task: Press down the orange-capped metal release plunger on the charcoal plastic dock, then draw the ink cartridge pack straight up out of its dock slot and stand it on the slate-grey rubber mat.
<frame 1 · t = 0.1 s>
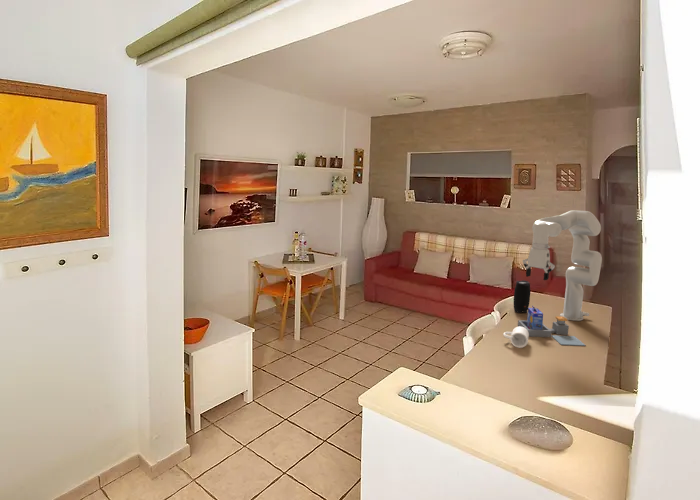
hand: (536, 278, 220), 31 cm above the worktop, tool pointing down, fingers open, 9 cm apart
mat: (567, 340, 216), on the worktop
mug: (514, 343, 212), on the worktop
ink cartridge box: (533, 331, 229), resting in dock
dock: (544, 331, 228), on the worktop
portable speaker: (520, 311, 263), on the worktop
plunger: (560, 322, 227), point 6 cm above the worktop, slide at 0.0 cm
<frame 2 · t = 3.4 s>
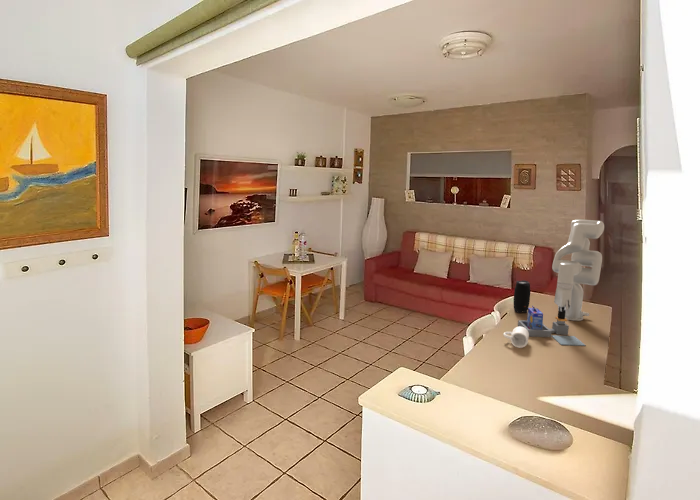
hand: (561, 318, 226), 8 cm above the worktop, tool pointing down, fingers closed
plunger: (560, 323, 227), point 5 cm above the worktop, slide at 0.2 cm, touching gripper
everything else where it was.
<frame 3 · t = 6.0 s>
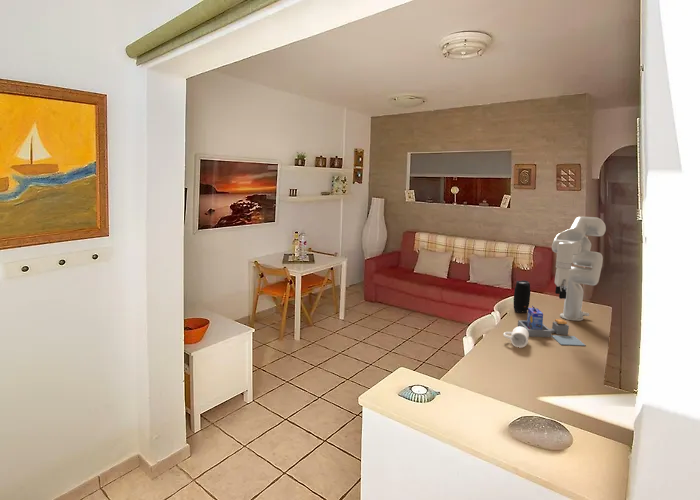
hand: (560, 296, 224), 21 cm above the worktop, tool pointing down, fingers open, 9 cm apart
plunger: (560, 326, 227), point 4 cm above the worktop, slide at 1.8 cm
everything else where it was.
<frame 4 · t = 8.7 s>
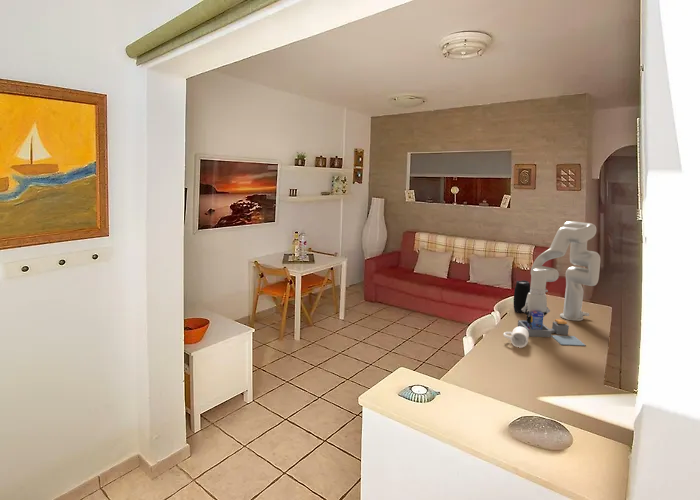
hand: (534, 322, 228), 5 cm above the worktop, tool pointing down, fingers closed on ink cartridge box, 5 cm apart
ink cartridge box: (533, 331, 229), resting in dock, touching gripper
everything else where it was.
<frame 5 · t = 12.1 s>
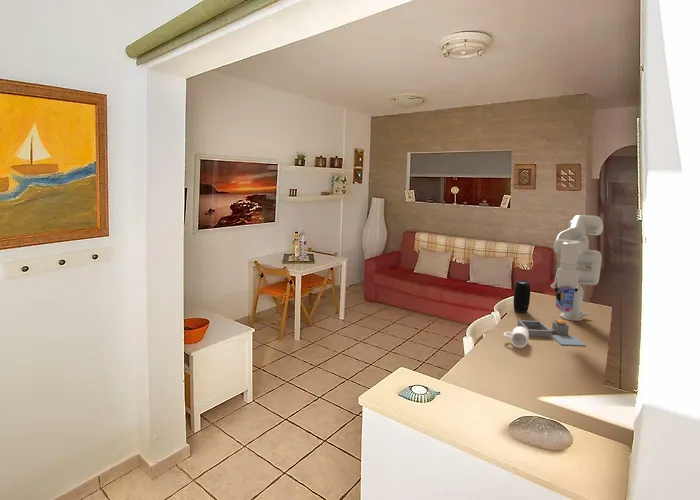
hand: (564, 299, 215), 21 cm above the worktop, tool pointing down, fingers closed on ink cartridge box, 5 cm apart
ink cartridge box: (563, 309, 216), point 16 cm above the worktop, touching gripper
everything else where it was.
when the fingers open (7 cm above the worktop, at t = 15.7 s): ink cartridge box drops 1 cm, resting on mat.
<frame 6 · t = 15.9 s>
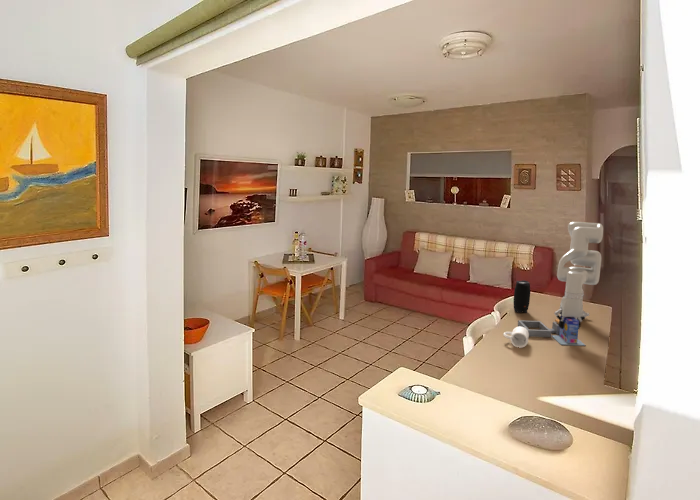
hand: (569, 327, 215), 7 cm above the worktop, tool pointing down, fingers open, 7 cm apart
ink cartridge box: (567, 340, 216), resting on mat
everything else where it was.
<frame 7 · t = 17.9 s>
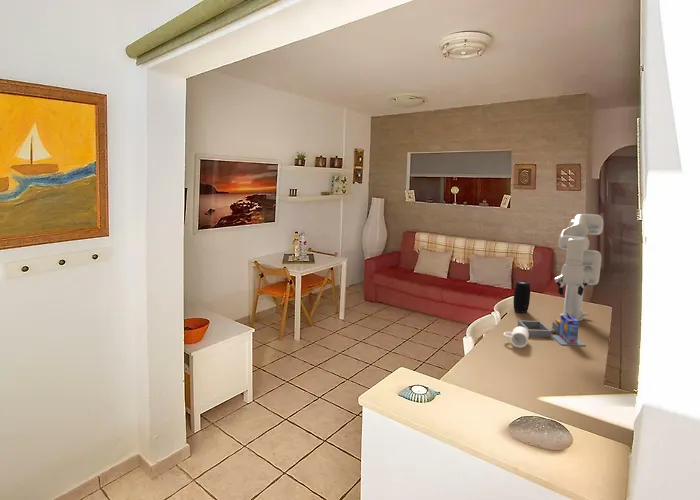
hand: (570, 294, 215), 24 cm above the worktop, tool pointing down, fingers open, 9 cm apart
nothing on the worktop moved.
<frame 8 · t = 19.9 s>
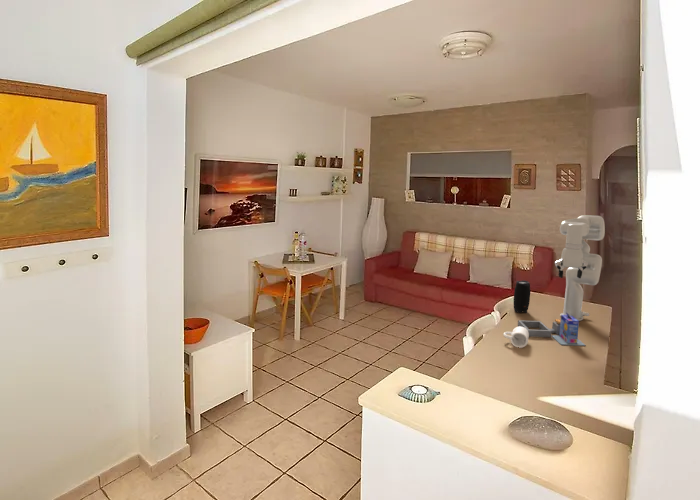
hand: (569, 277, 226), 30 cm above the worktop, tool pointing down, fingers open, 9 cm apart
nothing on the worktop moved.
at the end: plunger slide at 1.8 cm; ink cartridge box inside the target area on the mat (0.2 cm from its centre), point 0.3 cm above the mat's base; ink cartridge box tilted 0° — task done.
